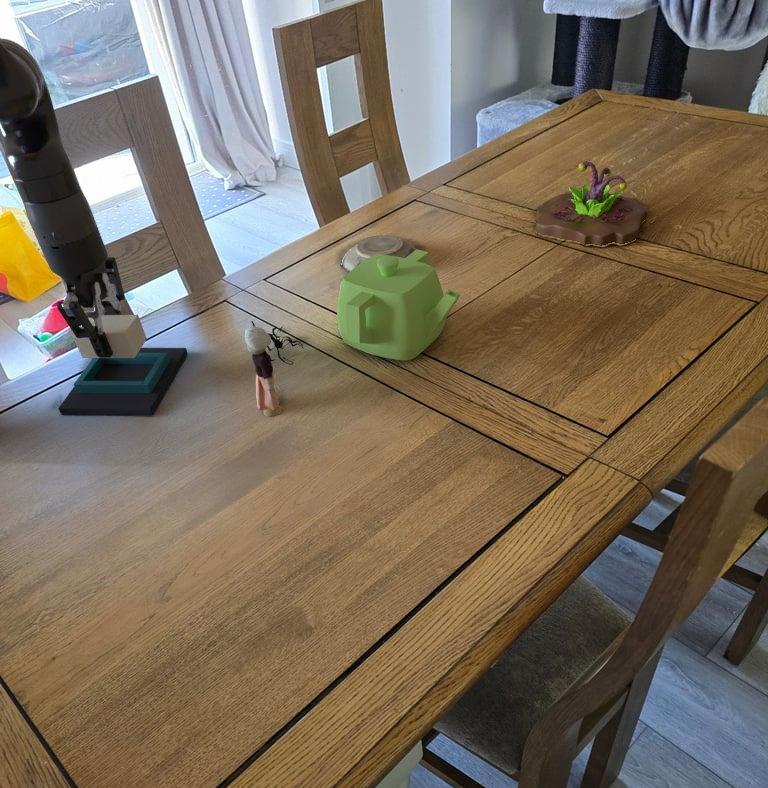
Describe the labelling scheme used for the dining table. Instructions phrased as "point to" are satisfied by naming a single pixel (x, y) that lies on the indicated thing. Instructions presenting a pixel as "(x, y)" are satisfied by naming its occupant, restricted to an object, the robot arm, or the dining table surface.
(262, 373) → the grandmother figurine
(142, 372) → the pad
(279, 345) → the creature
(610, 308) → the dining table surface
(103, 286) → the robot arm
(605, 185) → the plant
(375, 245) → the decorative bowl
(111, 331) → the cream pad
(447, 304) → the teapot
